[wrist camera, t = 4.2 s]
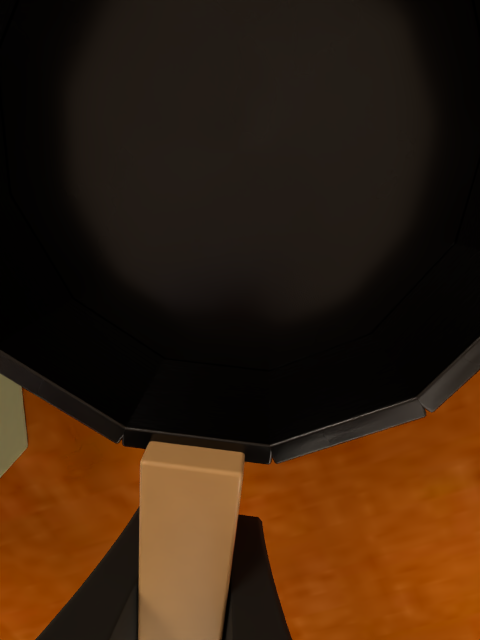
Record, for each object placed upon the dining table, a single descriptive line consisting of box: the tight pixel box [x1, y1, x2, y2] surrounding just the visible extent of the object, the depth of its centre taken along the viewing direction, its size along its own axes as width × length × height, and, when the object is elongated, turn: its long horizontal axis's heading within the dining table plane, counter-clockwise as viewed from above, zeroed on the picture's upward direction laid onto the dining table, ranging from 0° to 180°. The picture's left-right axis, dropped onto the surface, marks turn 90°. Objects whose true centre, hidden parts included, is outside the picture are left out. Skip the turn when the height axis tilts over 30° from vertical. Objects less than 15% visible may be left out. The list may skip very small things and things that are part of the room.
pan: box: [0, 0, 480, 640], centre depth 7 cm, size 17×10×4 cm, turn 174°
